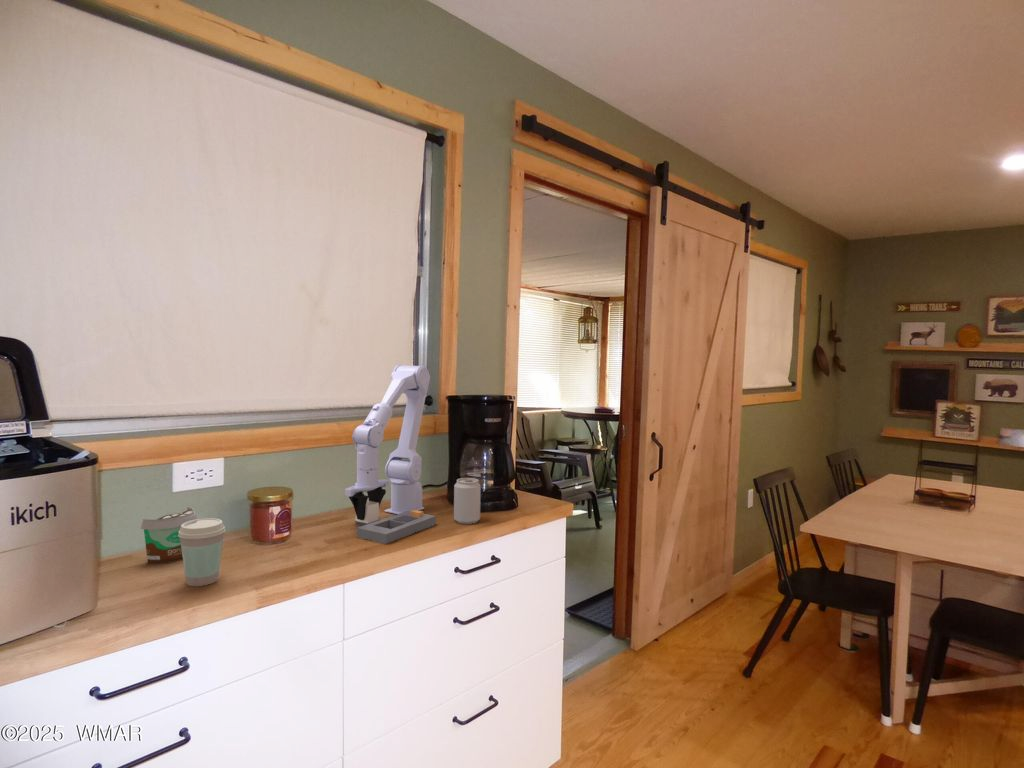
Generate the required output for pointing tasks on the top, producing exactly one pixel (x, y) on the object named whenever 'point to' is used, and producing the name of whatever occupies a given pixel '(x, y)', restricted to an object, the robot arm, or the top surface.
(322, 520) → the top surface
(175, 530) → the food container
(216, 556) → the coffee cup
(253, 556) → the top surface
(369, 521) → the plug
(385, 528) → the grey slotted holder
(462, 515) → the can
